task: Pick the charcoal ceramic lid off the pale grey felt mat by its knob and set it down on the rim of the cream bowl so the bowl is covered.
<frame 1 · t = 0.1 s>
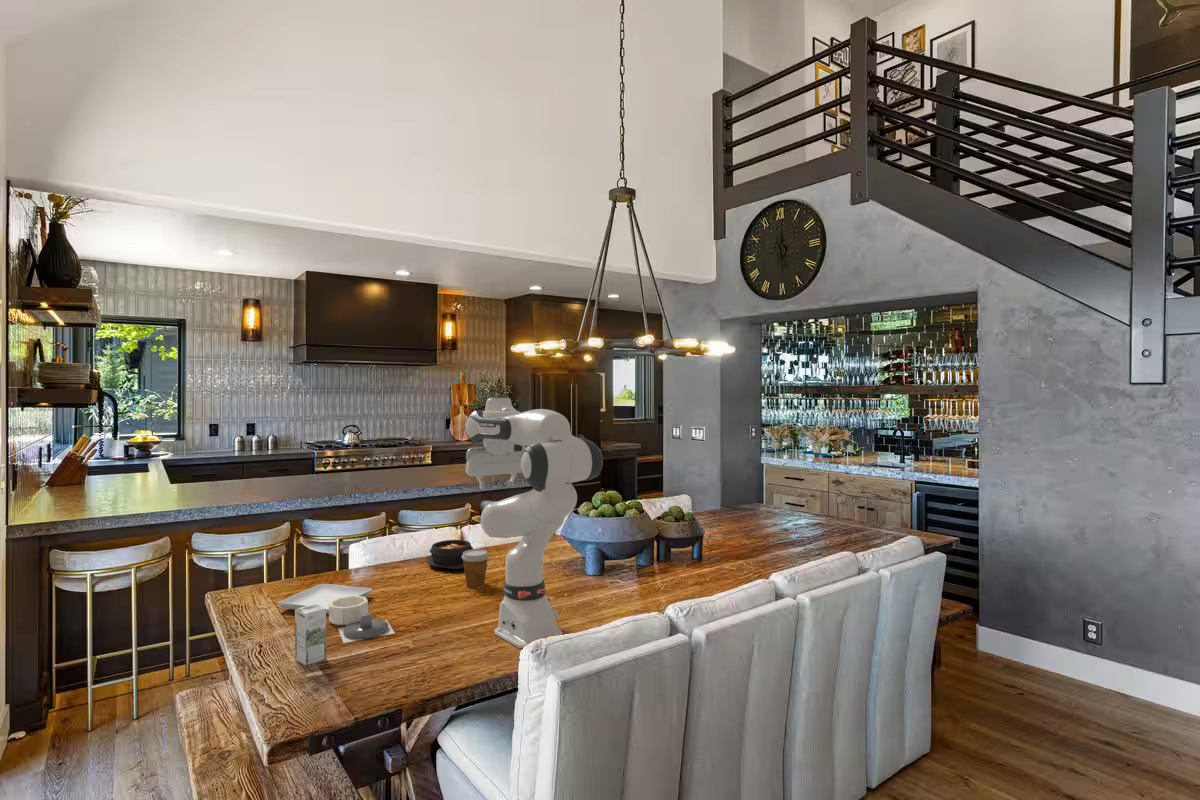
hand: (496, 487, 216), 39 cm above the table, tool pointing down, fingers open, 8 cm apart
bowl: (348, 621, 203), on the table
disposable coffee cup: (475, 586, 237), on the table
casserole: (451, 565, 263), on the table
salad plate: (326, 605, 219), on the table
lid: (366, 630, 193), point 1 cm above the table, touching mat
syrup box: (311, 662, 174), on the table
mat: (366, 633, 193), on the table
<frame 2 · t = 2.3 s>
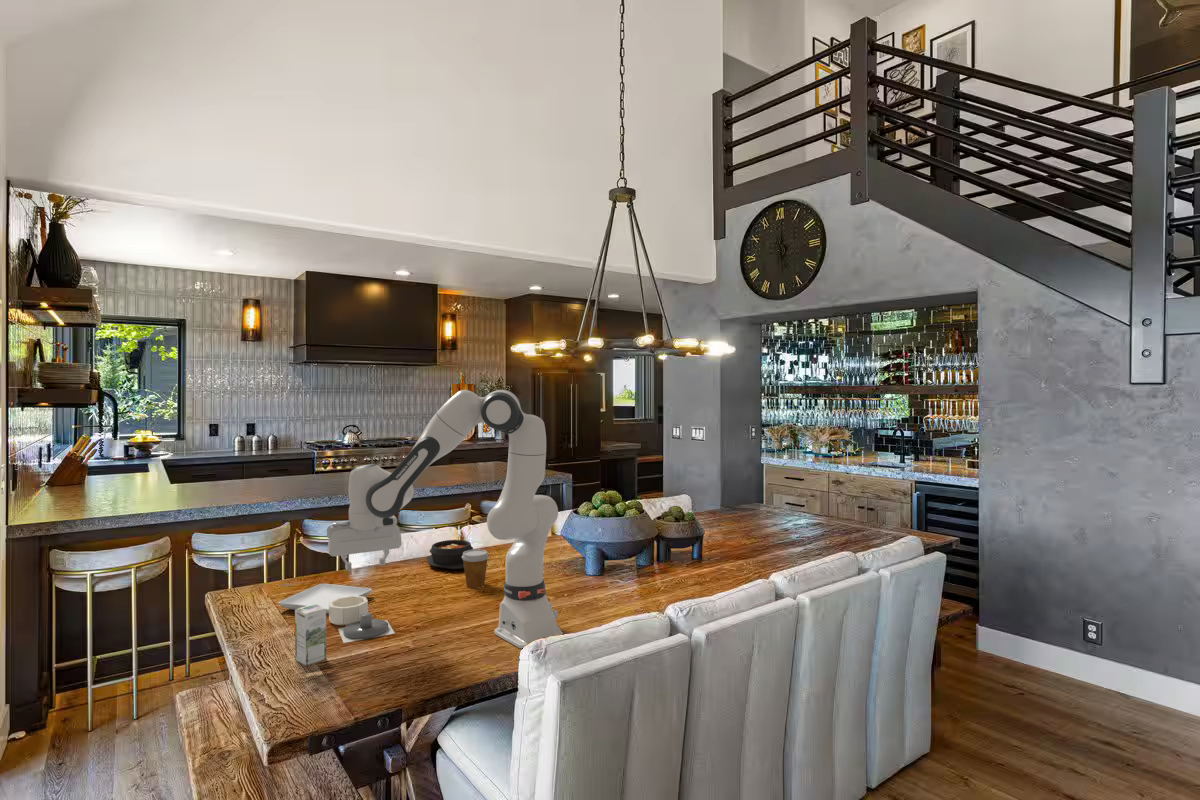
hand: (365, 566, 193), 20 cm above the table, tool pointing down, fingers open, 8 cm apart
nothing on the table moved.
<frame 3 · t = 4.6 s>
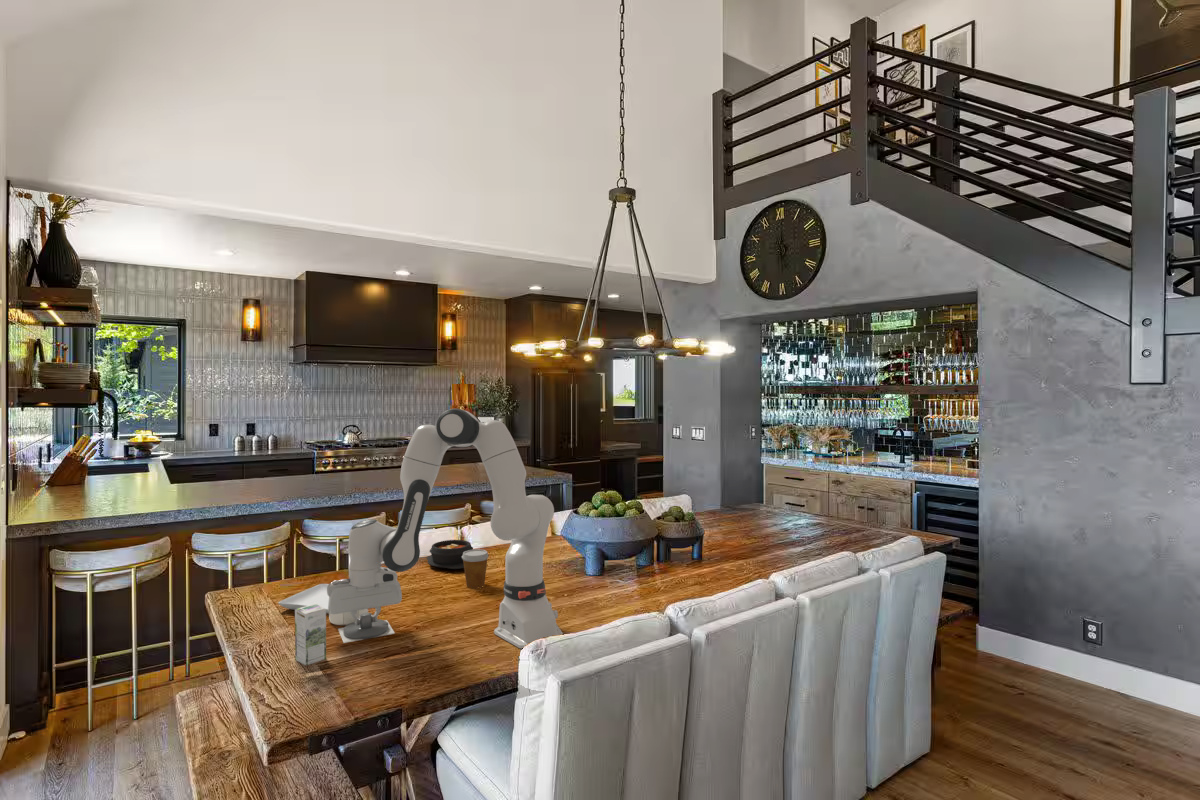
hand: (366, 623, 193), 3 cm above the table, tool pointing down, fingers closed on lid, 3 cm apart
lid: (366, 630, 193), point 1 cm above the table, touching gripper, mat
everything else where it was.
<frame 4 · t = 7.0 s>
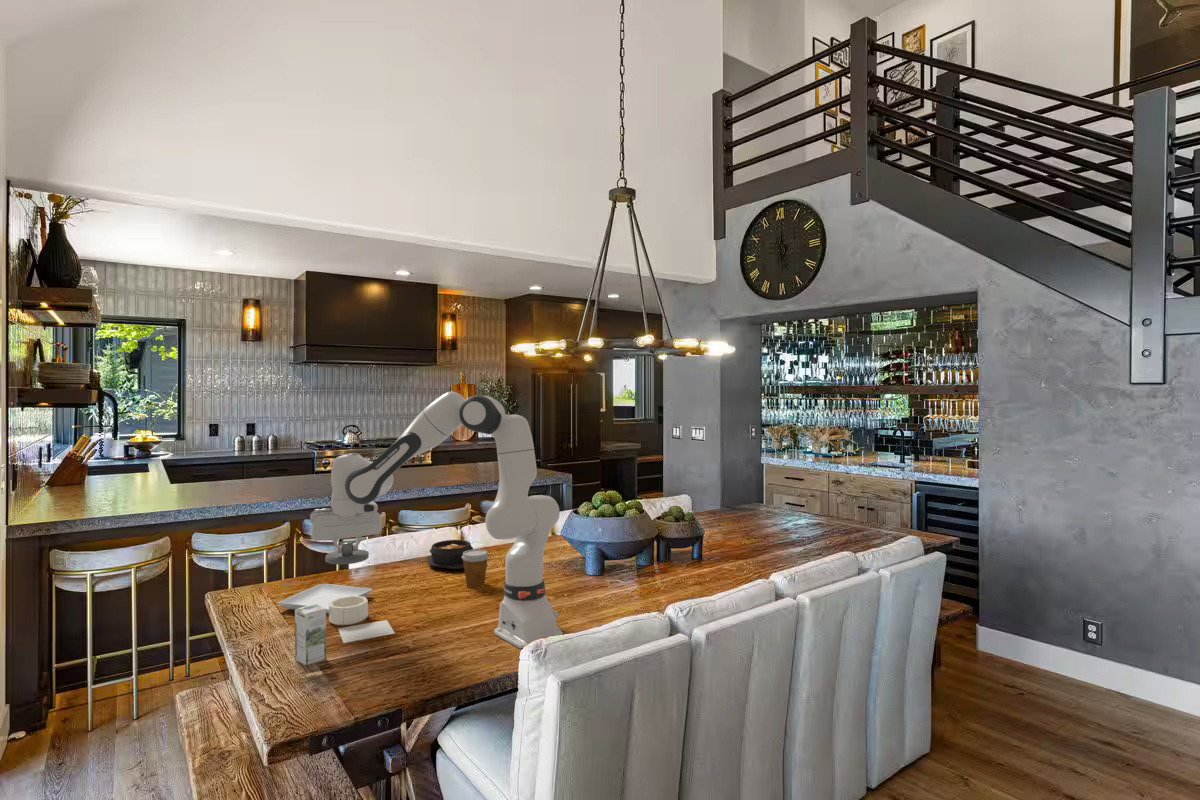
hand: (347, 551, 202), 22 cm above the table, tool pointing down, fingers closed on lid, 3 cm apart
lid: (347, 558, 202), point 19 cm above the table, touching gripper
everything else where it was.
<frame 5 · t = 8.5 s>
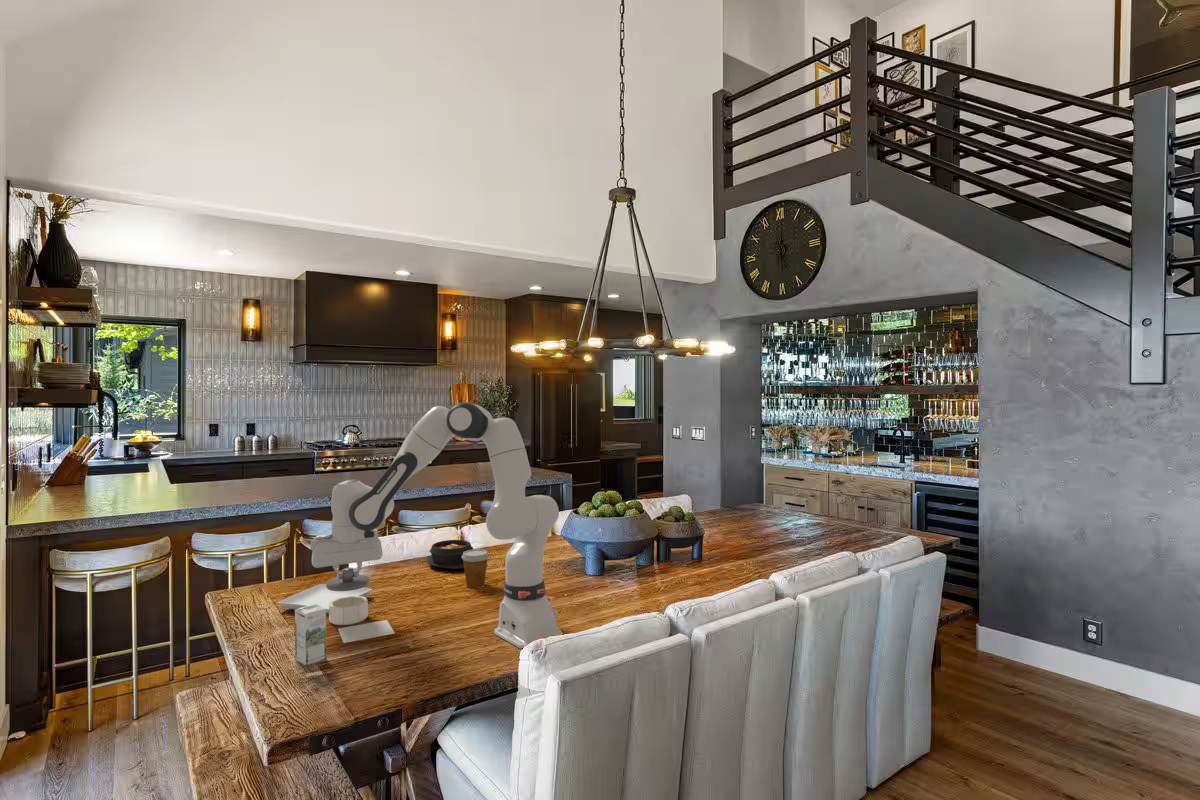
hand: (347, 577, 203), 14 cm above the table, tool pointing down, fingers closed on lid, 3 cm apart
lid: (347, 584, 203), point 11 cm above the table, touching gripper
everything else where it was.
when the fingers open (10 cm above the table, at t = 9.5 s): lid drops 1 cm, resting on bowl.
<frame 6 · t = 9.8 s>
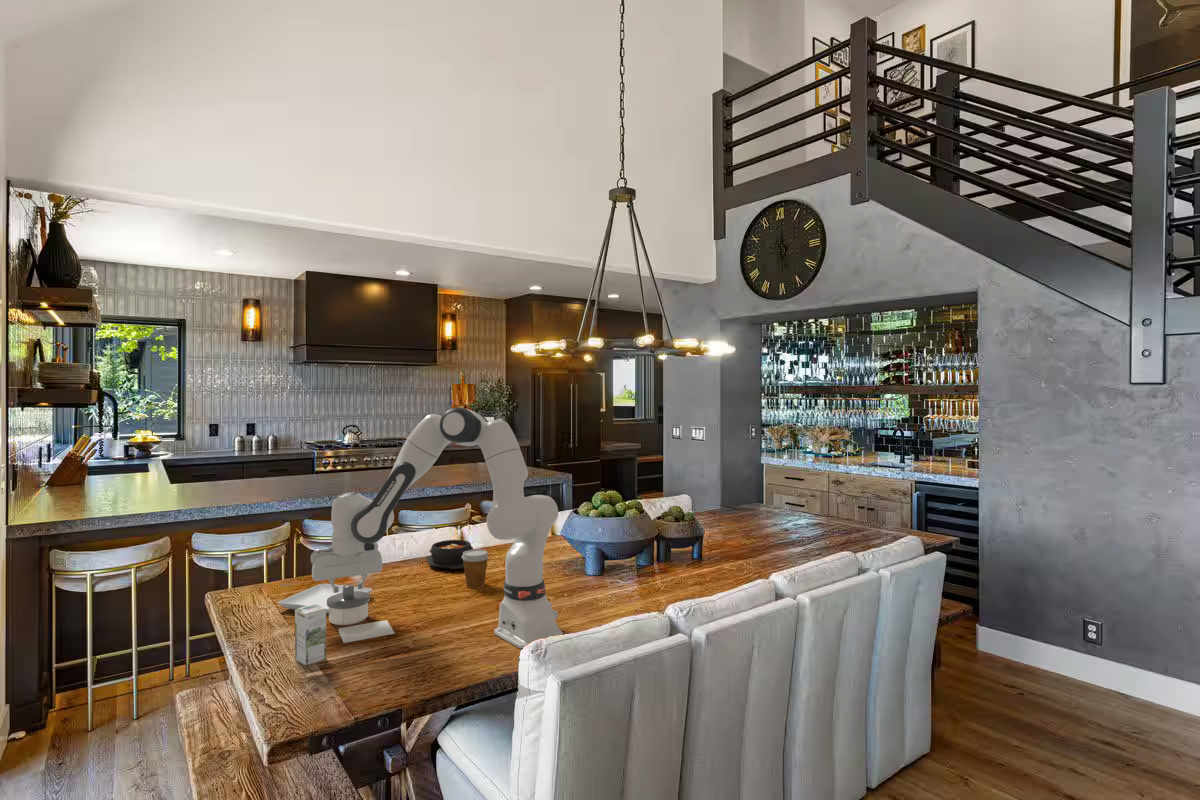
hand: (348, 590, 203), 10 cm above the table, tool pointing down, fingers open, 6 cm apart
lid: (348, 601, 203), point 6 cm above the table, touching bowl
everything else where it was.
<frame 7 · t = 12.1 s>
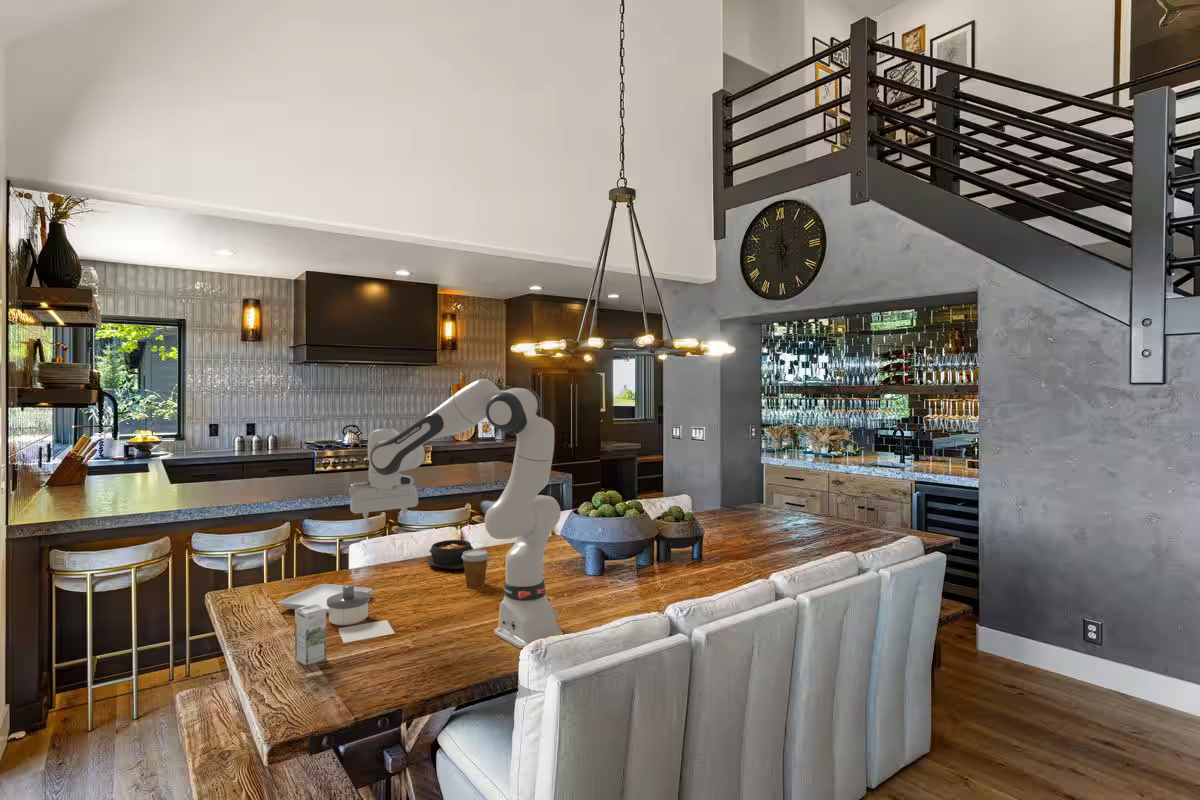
hand: (385, 524, 206), 29 cm above the table, tool pointing down, fingers open, 8 cm apart
nothing on the table moved.
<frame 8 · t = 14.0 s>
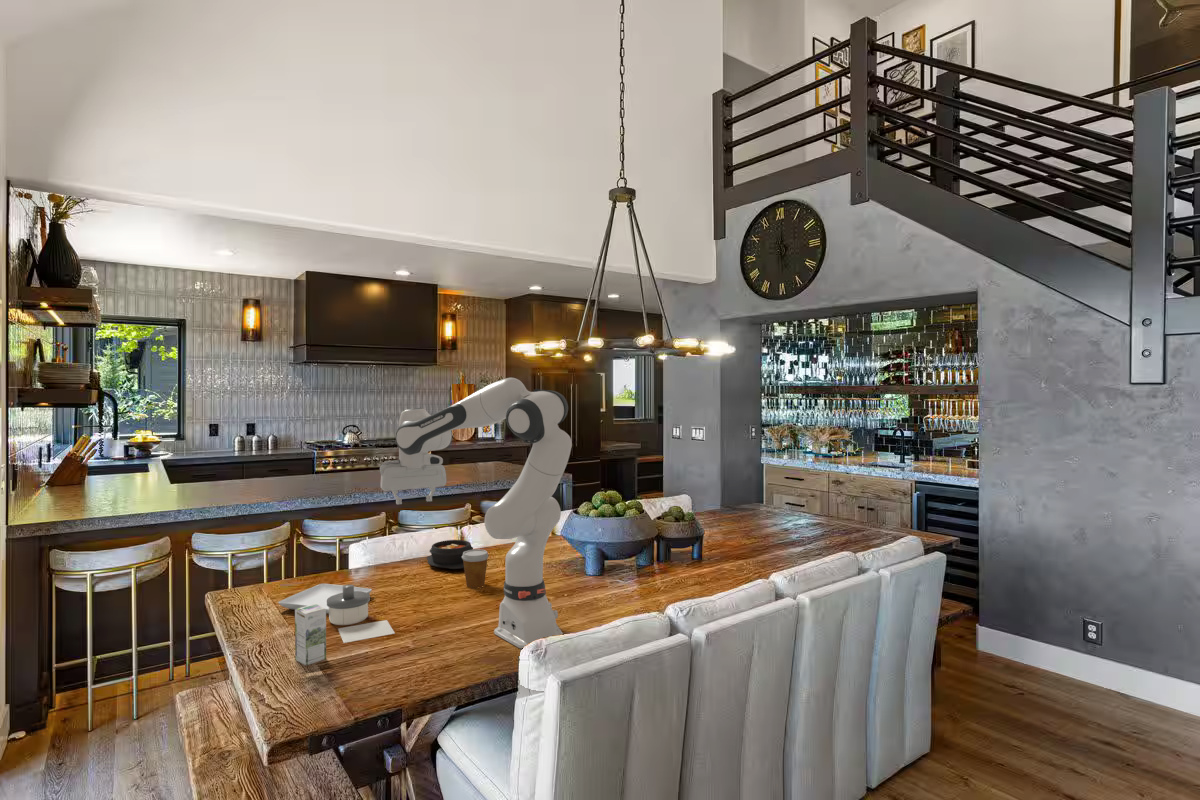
hand: (414, 502, 210), 35 cm above the table, tool pointing down, fingers open, 8 cm apart
nothing on the table moved.
at the end: lid 0.1 cm off-centre on the bowl, point 6.0 cm above the bowl's base; lid tilted 0°; the gripper is holding nothing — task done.
